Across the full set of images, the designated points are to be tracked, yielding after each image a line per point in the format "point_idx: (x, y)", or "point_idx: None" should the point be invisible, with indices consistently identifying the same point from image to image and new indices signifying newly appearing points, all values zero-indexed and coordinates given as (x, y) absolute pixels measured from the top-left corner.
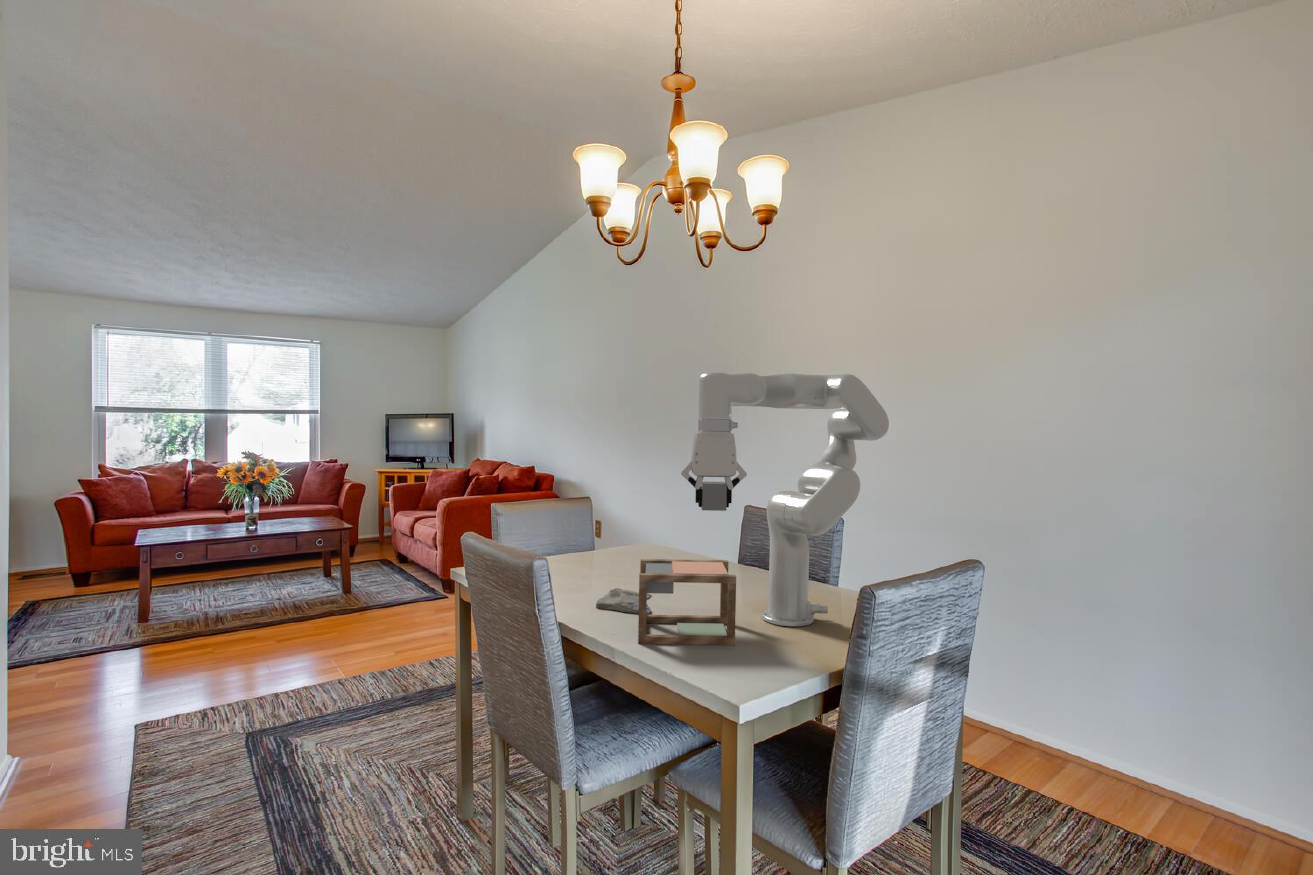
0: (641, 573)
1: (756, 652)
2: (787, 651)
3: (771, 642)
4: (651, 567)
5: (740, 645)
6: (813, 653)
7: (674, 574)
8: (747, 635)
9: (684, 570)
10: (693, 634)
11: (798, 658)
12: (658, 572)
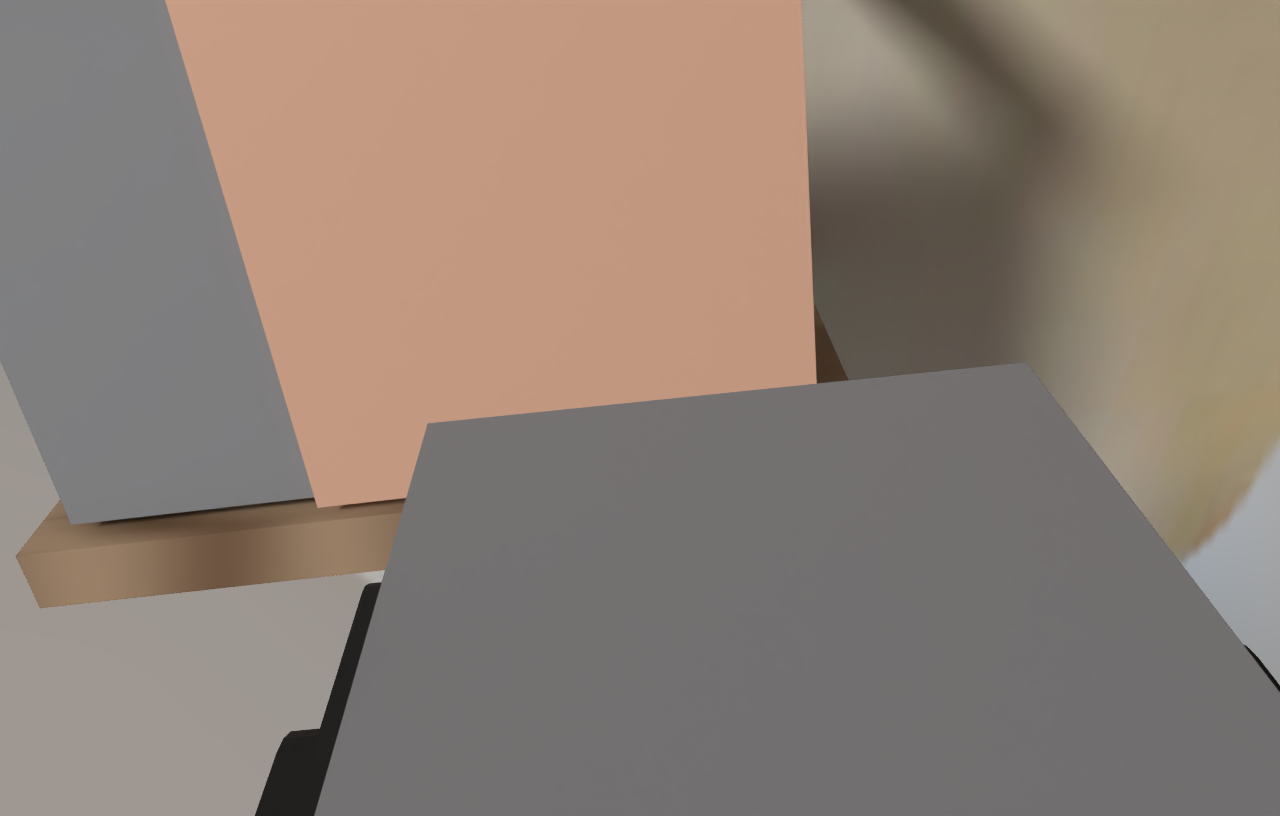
0: (37, 560)
1: (899, 374)
2: (1077, 333)
3: (1022, 201)
4: (8, 226)
5: (822, 282)
6: (1215, 339)
7: (334, 543)
8: (890, 90)
9: (396, 391)
10: None
11: (1106, 420)
12: (153, 416)
